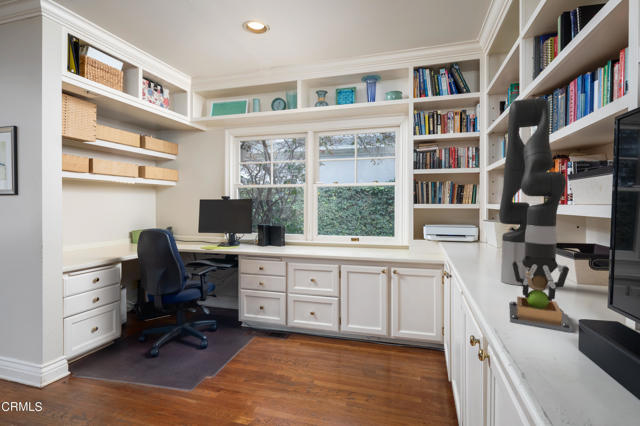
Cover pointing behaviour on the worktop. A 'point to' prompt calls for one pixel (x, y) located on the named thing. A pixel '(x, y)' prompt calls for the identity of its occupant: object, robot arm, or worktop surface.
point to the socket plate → (539, 315)
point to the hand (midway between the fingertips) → (538, 298)
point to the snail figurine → (537, 291)
